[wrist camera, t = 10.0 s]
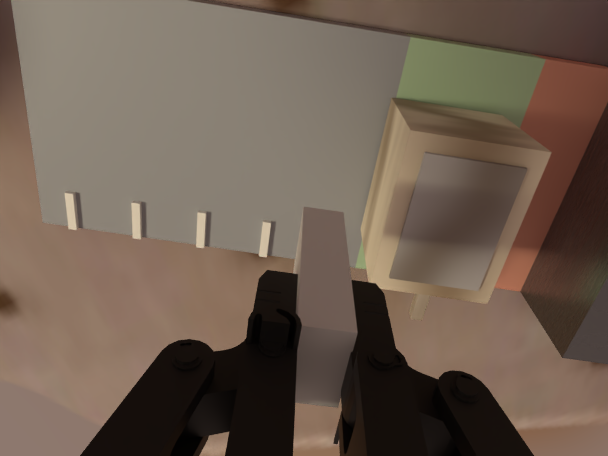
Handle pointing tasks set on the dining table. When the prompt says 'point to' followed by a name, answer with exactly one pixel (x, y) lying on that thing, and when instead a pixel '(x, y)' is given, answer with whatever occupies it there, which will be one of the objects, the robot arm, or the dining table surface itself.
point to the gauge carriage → (447, 201)
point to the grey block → (577, 261)
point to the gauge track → (262, 118)
